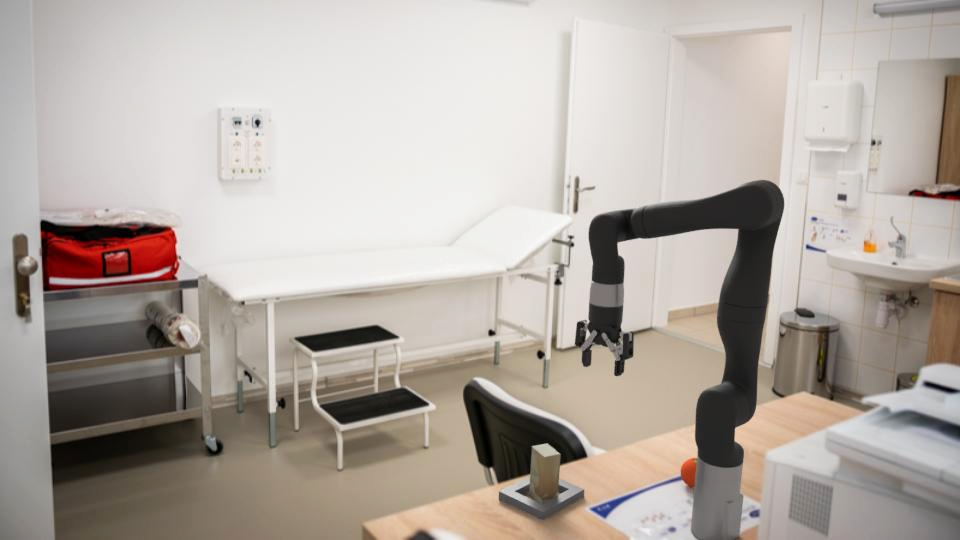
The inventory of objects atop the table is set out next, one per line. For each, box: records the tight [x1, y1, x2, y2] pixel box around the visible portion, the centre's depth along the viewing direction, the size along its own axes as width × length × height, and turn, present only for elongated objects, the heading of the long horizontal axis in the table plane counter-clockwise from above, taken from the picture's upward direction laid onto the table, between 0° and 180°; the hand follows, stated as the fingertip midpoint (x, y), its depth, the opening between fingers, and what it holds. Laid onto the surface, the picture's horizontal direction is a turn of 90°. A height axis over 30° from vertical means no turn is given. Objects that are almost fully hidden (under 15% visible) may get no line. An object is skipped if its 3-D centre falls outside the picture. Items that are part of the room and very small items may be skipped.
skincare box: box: [528, 443, 562, 504], centre depth 181 cm, size 6×4×12 cm
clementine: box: [679, 457, 697, 489], centre depth 189 cm, size 8×7×7 cm
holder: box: [498, 475, 585, 521], centre depth 182 cm, size 13×15×2 cm
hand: (602, 370), depth 179 cm, fingers open, 8 cm apart
